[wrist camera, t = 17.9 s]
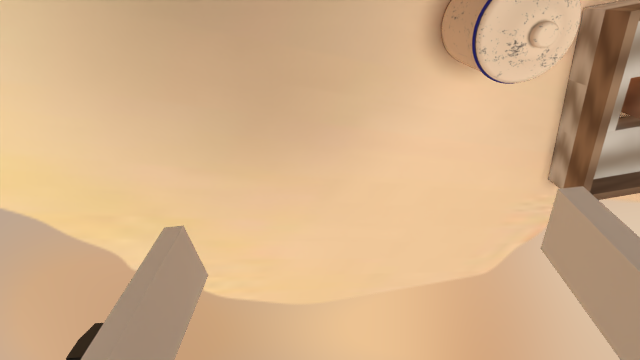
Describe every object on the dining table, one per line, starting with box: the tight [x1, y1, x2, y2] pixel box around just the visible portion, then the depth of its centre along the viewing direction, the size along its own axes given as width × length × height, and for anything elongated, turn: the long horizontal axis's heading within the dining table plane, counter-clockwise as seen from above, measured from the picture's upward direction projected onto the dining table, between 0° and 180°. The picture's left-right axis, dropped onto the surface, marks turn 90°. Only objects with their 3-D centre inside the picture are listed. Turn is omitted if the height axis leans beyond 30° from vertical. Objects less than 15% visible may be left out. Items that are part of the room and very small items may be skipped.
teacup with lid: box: [442, 0, 581, 84], centre depth 31 cm, size 12×9×12 cm
